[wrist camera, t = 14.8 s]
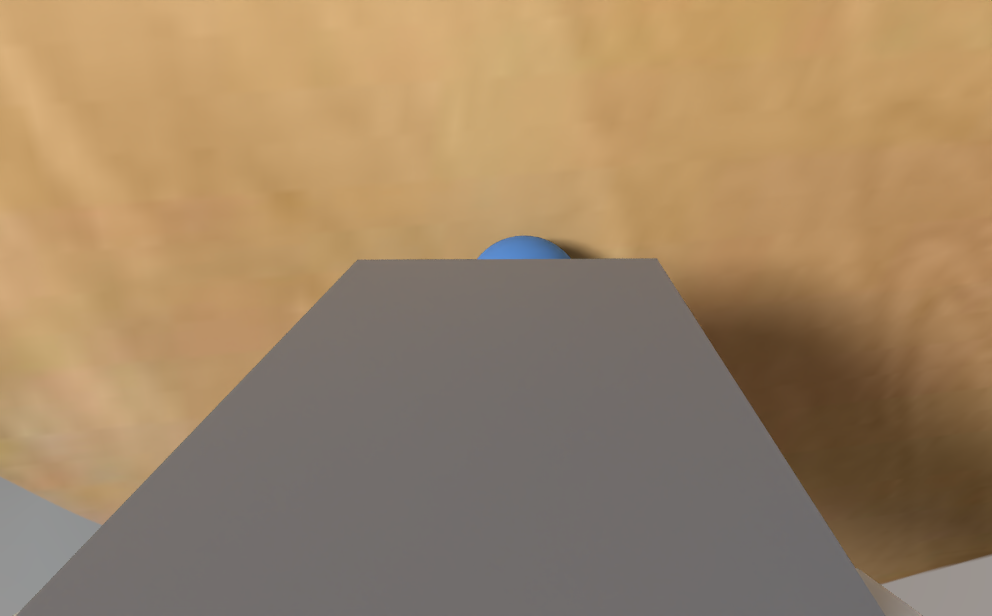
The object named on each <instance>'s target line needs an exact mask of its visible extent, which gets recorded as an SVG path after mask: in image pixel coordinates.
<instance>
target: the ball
mask: <svg viewBox="0 0 992 616" xmlns="http://www.w3.org/2000/svg"><path fill="white" fill-rule="evenodd" d="M478 259H571V258H570V257H569V256H568V255H567V254H566V253H565V252H564V251H563V250H562V249H561V248H559V247H558V246H557V245H555V244H553V243H552V242H550V241H547V240H545V239H542V238H539V237H533V236H515V237H510V238H507V239H503V240H501V241H499V242H497V243H495V244H493V245H492V246H490V247H489V248H488V249H486V250H485V251H484V252H483V253H482V254H481V255H480V256H479V257H478Z"/></svg>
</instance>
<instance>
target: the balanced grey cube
mask: <svg viewBox="0 0 992 616" xmlns="http://www.w3.org/2000/svg"><path fill="white" fill-rule="evenodd" d="M16 616H886V615H885V614H884V612H883V611H882V609H881V608H880V606H879V605H878V603H877V601H876V600H875V598H874V597H873V595H872V594H871V592H870V591H869V589H868V587H867V586H866V584H865V583H864V581H863V580H862V578H861V576H860V575H859V573H858V572H857V570H856V569H855V567H854V566H853V564H852V562H851V561H850V559H849V558H848V556H847V555H846V553H845V552H844V550H843V548H842V547H841V545H840V544H839V542H838V541H837V539H836V537H835V536H834V534H833V533H832V531H831V530H830V528H829V527H828V525H827V523H826V522H825V520H824V519H823V517H822V516H821V514H820V513H819V511H818V509H817V508H816V506H815V505H814V503H813V502H812V500H811V498H810V497H809V495H808V494H807V492H806V491H805V489H804V488H803V486H802V484H801V483H800V481H799V480H798V478H797V477H796V475H795V473H794V472H793V470H792V469H791V467H790V466H789V464H788V463H787V461H786V459H785V458H784V456H783V455H782V453H781V452H780V450H779V449H778V447H777V445H776V444H775V442H774V441H773V439H772V438H771V436H770V434H769V433H768V431H767V430H766V428H765V427H764V425H763V424H762V422H761V420H760V419H759V417H758V416H757V414H756V413H755V411H754V410H753V408H752V406H751V405H750V403H749V402H748V400H747V399H746V397H745V395H744V394H743V392H742V391H741V389H740V388H739V386H738V385H737V383H736V381H735V380H734V378H733V377H732V375H731V374H730V372H729V371H728V369H727V367H726V366H725V364H724V363H723V361H722V360H721V358H720V356H719V355H718V353H717V352H716V350H715V349H714V347H713V346H712V344H711V342H710V341H709V339H708V338H707V336H706V335H705V333H704V331H703V330H702V328H701V327H700V325H699V324H698V322H697V321H696V319H695V317H694V316H693V314H692V313H691V311H690V310H689V308H688V307H687V305H686V303H685V302H684V300H683V299H682V297H681V296H680V294H679V292H678V291H677V289H676V288H675V286H674V285H673V283H672V282H671V280H670V278H669V277H668V275H667V274H666V272H665V271H664V269H663V268H662V266H661V264H660V263H659V261H658V260H657V259H426V260H357V261H356V262H355V263H354V264H353V265H352V266H351V267H350V268H349V269H348V270H347V271H346V272H345V273H344V274H343V275H342V276H341V278H340V279H339V280H338V281H337V282H336V283H335V284H334V285H333V286H332V287H331V288H330V289H329V290H328V291H327V292H326V293H325V294H324V295H323V296H322V297H321V298H320V299H319V300H318V301H317V303H316V304H315V305H314V306H313V307H312V308H311V309H310V310H309V311H308V312H307V313H306V314H305V315H304V316H303V317H302V318H301V319H300V320H299V321H298V322H297V323H296V324H295V325H294V326H293V328H292V329H291V330H290V331H289V332H288V333H287V334H286V335H285V336H284V337H283V338H282V339H281V340H280V341H279V342H278V343H277V344H276V345H275V346H274V347H273V348H272V349H271V350H270V351H269V353H268V354H267V355H266V356H265V357H264V358H263V359H262V360H261V361H260V362H259V363H258V364H257V365H256V366H255V367H254V368H253V369H252V370H251V371H250V372H249V373H248V374H247V375H246V376H245V378H244V379H243V380H242V381H241V382H240V383H239V384H238V385H237V386H236V387H235V388H234V389H233V390H232V391H231V392H230V393H229V394H228V395H227V396H226V397H225V398H224V399H223V400H222V401H221V402H220V404H219V405H218V406H217V407H216V408H215V409H214V410H213V411H212V412H211V413H210V414H209V415H208V416H207V417H206V418H205V419H204V420H203V421H202V422H201V423H200V424H199V425H198V426H197V427H196V429H195V430H194V431H193V432H192V433H191V434H190V435H189V436H188V437H187V438H186V439H185V440H184V441H183V442H182V443H181V444H180V445H179V446H178V447H177V448H176V449H175V450H174V451H173V452H172V454H171V455H170V456H169V457H168V458H167V459H166V460H165V461H164V462H163V463H162V464H161V465H160V466H159V467H158V468H157V469H156V470H155V471H154V472H153V473H152V474H151V475H150V476H149V477H148V479H147V480H146V481H145V482H144V483H143V484H142V485H141V486H140V487H139V488H138V489H137V490H136V491H135V492H134V493H133V494H132V495H131V496H130V497H129V498H128V499H127V500H126V501H125V502H124V504H123V505H122V506H121V507H120V508H119V509H118V510H117V511H116V512H115V513H114V514H113V515H112V516H111V517H110V518H109V519H108V520H107V521H106V522H105V523H104V524H103V525H102V526H101V528H100V529H99V530H98V531H97V532H96V533H95V534H94V535H93V536H92V537H91V538H90V539H89V540H88V541H87V542H86V543H85V544H84V545H83V546H82V547H81V548H80V549H79V550H78V551H77V553H75V555H74V556H73V557H72V558H71V559H70V560H69V561H68V562H67V563H66V564H65V565H64V566H63V567H62V568H61V569H60V570H59V571H58V572H57V573H56V575H55V576H53V578H51V580H50V581H49V582H48V583H47V584H46V585H45V586H44V587H43V588H42V589H41V590H40V591H39V592H38V593H37V594H36V595H35V596H34V597H33V598H32V599H31V600H30V601H29V602H28V604H27V605H26V606H25V607H24V608H23V609H22V610H21V611H20V612H19V613H18V614H17V615H16Z"/></svg>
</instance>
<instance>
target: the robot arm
mask: <svg viewBox="0 0 992 616" xmlns="http://www.w3.org/2000/svg"><path fill="white" fill-rule="evenodd" d="M855 569H856V570H857V572H858V573H859V575H860V576H861V578H862V580H863V581H864V583H865V584H866V586H867V587H868V589H869V591H870V592H871V594H872V595H873V597H874V598H875V600H876V601H877V603H878V605H879V606H880V608H881V609H882V611H883V612H884V614H885V615H886V616H923V615H921V614H920V613H919V612H917V611H916V610H914V609H913V608H912V607H910V606H909V605H907V604H906V603H905V602H903V601H902V600H901V599H899V598H898V597H897V596H895V595H894V594H892V593H891V592H890V591H888V590H887V589H886V588H884V587H883V586H881V585H880V584H879V583H877V582H876V581H875V580H873V579H872V578H870V577H869V576H868V575H866V574H865V573H864V572H862V571H861V570H860V569H858V568H855ZM18 613H19V612H18ZM18 613H16V614H15V615H13V616H16V615H17V614H18Z"/></svg>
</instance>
